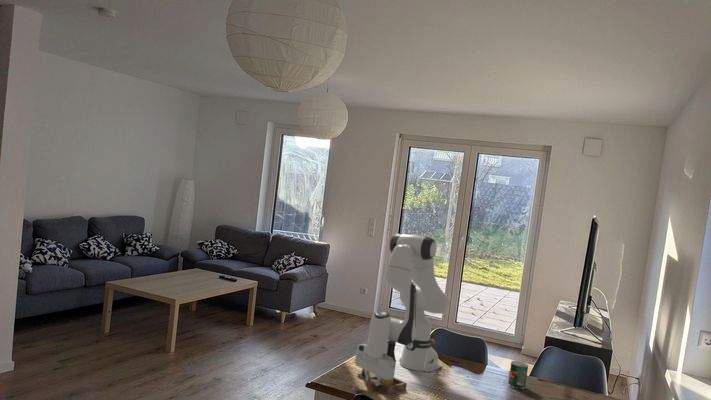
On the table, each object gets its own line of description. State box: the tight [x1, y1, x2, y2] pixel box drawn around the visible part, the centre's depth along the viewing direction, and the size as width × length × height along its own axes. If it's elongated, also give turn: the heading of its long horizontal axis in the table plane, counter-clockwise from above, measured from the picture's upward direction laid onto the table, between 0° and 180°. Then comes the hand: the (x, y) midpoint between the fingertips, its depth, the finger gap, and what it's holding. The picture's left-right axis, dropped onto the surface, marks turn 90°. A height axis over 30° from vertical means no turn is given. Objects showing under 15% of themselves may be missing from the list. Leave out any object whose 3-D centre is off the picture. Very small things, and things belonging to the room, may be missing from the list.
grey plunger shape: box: [356, 368, 372, 380], centre depth 252 cm, size 6×6×12 cm
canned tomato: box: [507, 360, 529, 388], centre depth 268 cm, size 8×8×11 cm
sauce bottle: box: [380, 340, 397, 386], centre depth 243 cm, size 7×6×20 cm
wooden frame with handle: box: [365, 375, 408, 396], centre depth 242 cm, size 16×12×4 cm
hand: (372, 383), depth 237 cm, fingers open, 4 cm apart
